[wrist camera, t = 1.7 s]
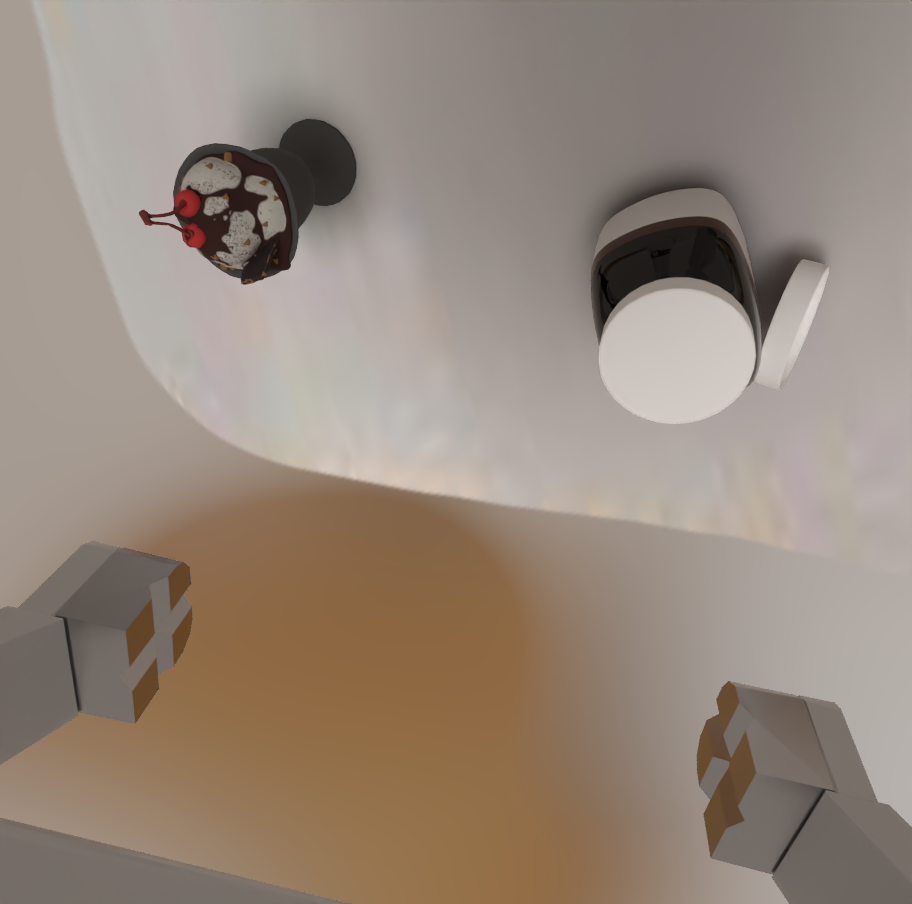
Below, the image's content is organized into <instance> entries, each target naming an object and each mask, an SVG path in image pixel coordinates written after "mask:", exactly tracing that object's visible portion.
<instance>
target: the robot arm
mask: <svg viewBox="0 0 912 904" xmlns="http://www.w3.org/2000/svg"><path fill="white" fill-rule="evenodd" d="M190 585H191V577H190V567H189V566H188V565H187V564H186V563H184V562H180V561H176V560H172V559H168V558H164V557H160V556H156V555H152V554H148V553H144V552H139V551H135V550H131V549H127V548H120V547H116V546H112V545H108V544H104V543H100V542H96V541H91V542H88V543H85V544H83V545H82V546H81V547H80V548H79V549H78V550H77V551H76V552H75V553H74V554H73V555H71V557H69V558H68V559H67V561H66V562H64V563H63V564H62V565H61V566H60V567H59V568H58V569H57V570H56V571H55V572H54V573H53V574H52V575H51V576H50V577H49V578H48V579H47V580H46V581H45V582H44V583H43V584H42V585H41V586H40V587H39V588H38V589H37V590H36V591H35V592H34V593H33V594H32V595H31V596H30V597H29V598H28V599H27V600H26V601H25V602H24V603H22V604H21V605H20V606H19V607H18V608H14V607H9V606H7V607H4V608H2V609H0V764H2V763H4V762H5V761H7V760H8V759H10V758H12V757H13V756H15V755H16V754H18V753H20V752H21V751H23V750H24V749H26V748H28V747H29V746H31V745H32V744H34V743H35V742H37V741H39V740H40V739H42V738H43V737H45V736H47V735H48V734H50V733H52V732H53V731H55V730H56V729H58V728H59V727H61V726H63V725H64V724H66V723H67V722H69V721H71V720H72V719H74V718H75V717H77V716H78V712H80V713H85V714H90V715H94V716H99V717H105V718H109V719H114V720H120V721H124V722H129V723H134V724H135V723H136V722H137V721H138V719H139V718H140V716H141V715H142V713H143V712H144V710H145V709H146V707H147V706H148V704H149V703H150V701H151V700H152V698H153V697H154V695H155V693H156V692H157V691H158V689H159V684H158V674H160V673H162V672H164V671H166V670H168V669H169V668H172V667H173V666H174V665H175V664H176V662H177V661H178V659H179V657H180V656H181V654H182V653H183V651H184V648H185V645H186V643H187V640H188V638H189V635H190V631H191V625H192V605H191V604H190V603H189V602H188V600H187V599H186V597H185V596H184V595H183V594H184V593H185V591H186V590H187V589H188V587H189V586H190ZM716 700H717V705H718V710H719V714H718V715H716V716H714V717H712V718H710V719H708V720H707V721H706V723H705V726H704V729H703V731H702V733H701V736H700V740H699V746H698V752H697V774H698V780H699V786H700V788H701V789H702V790H703V791H704V793H705V794H706V795H707V796H708V798H709V799H710V802H709V804H708V806H707V808H706V810H705V812H704V820H705V826H706V832H707V838H708V844H709V851H710V857H711V858H712V859H716V860H720V861H724V862H727V863H731V864H735V865H739V866H743V867H747V868H750V869H754V870H758V871H762V872H765V873H769V874H773V876H772V878H773V880H774V881H775V883H776V884H777V886H778V887H779V889H780V890H781V892H782V893H783V895H784V896H785V898H786V899H787V901H788V902H789V904H912V827H911V826H910V825H909V824H908V823H907V822H906V821H905V820H904V819H903V818H902V817H901V816H900V815H899V814H898V813H897V812H896V811H895V810H894V809H893V808H892V807H891V806H889V805H887V804H883V803H878V801H877V799H876V796H875V794H874V791H873V789H872V786H871V784H870V781H869V779H868V776H867V774H866V771H865V769H864V766H863V764H862V761H861V759H860V756H859V754H858V751H857V748H856V746H855V744H854V741H853V739H852V736H851V734H850V731H849V728H848V726H847V724H846V721H845V718H844V716H843V713H842V711H841V709H840V708H839V707H838V706H837V705H836V704H835V703H834V702H829V701H824V700H819V699H814V698H809V697H804V696H796V695H793V694H788V693H783V692H778V691H773V690H769V689H763V688H759V687H754V686H750V685H745V684H740V683H735V682H731V681H728V682H727V683H726V684H725V685H724V686H723V687H722V689H721V691H720V693H719V695H718V697H717V699H716ZM0 904H350V903H346V902H342V901H338V900H334V899H330V898H326V897H321V896H317V895H314V894H310V893H305V892H301V891H297V890H293V889H289V888H285V887H281V886H277V885H273V884H269V883H265V882H261V881H257V880H252V879H249V878H244V877H240V876H236V875H232V874H228V873H224V872H219V871H216V870H212V869H207V868H204V867H199V866H195V865H191V864H187V863H183V862H179V861H175V860H170V859H166V858H163V857H159V856H155V855H150V854H146V853H142V852H138V851H134V850H130V849H125V848H122V847H118V846H114V845H110V844H106V843H101V842H97V841H93V840H89V839H85V838H81V837H76V836H73V835H68V834H64V833H61V832H56V831H52V830H48V829H44V828H40V827H36V826H32V825H27V824H24V823H20V822H15V821H11V820H7V819H3V818H0Z"/></svg>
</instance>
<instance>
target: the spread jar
mask: <svg viewBox="0 0 912 904" xmlns="http://www.w3.org/2000/svg"><path fill="white" fill-rule="evenodd" d="M829 270H830V266H829V265H826V264H822V263H818V262H814V261H810V260H806V259H803V260H801V261H800V262H799V264H798V265H797V267H796V268H795V270H794V272H793V274H792V276H791V278H790V280H789V282H788V284H787V286H786V288H785V290H784V292H783V295H782V297H781V299H780V301H779V304H778V306H777V309H776V311H775V314H774V316H773V319H772V321H771V324H770V326H769V329H768V332H767V335H766V337H765V340H764V343H763V346H762V336H761V319H760V311H759V304H758V298H757V292H756V287H755V282H754V277H753V271H752V265H751V261H750V256H749V252H748V248H747V244H746V241H745V238H744V235H743V232H742V229H741V227H740V224H739V222H738V219H737V217H736V214H735V212H734V210H733V208H732V207H731V205H730V204H729V202H728V201H727V199H726V198H725V197H724V196H723V195H721V194H720V193H718V192H716V191H714V190H710V189H705V188H690V189H680V190H674V191H669V192H665V193H661V194H658V195H655V196H652V197H649V198H646V199H644V200H641V201H639V202H637V203H635V204H633V205H631V206H629V207H627V208H625V209H624V210H622V211H620V212H618V213H617V214H616V215H614V216H613V217H612V218H611V219H610V220H609V221H608V222H607V223H606V224H605V226H604V227H603V229H602V231H601V233H600V235H599V238H598V242H597V245H596V248H595V253H594V257H593V262H592V271H591V295H592V308H593V316H594V323H595V329H596V334H597V338H598V343H599V350H598V365H599V370H600V375H601V378H602V380H603V382H604V385H605V387H606V389H607V390H608V391H609V393H610V394H611V396H612V397H613V398H614V399H615V400H616V401H617V402H618V403H619V404H620V405H621V406H622V407H623V408H625V409H626V410H628V411H630V412H631V413H633V414H634V415H636V416H639V417H641V418H644V419H646V420H649V421H654V422H658V423H666V424H682V423H691V422H695V421H699V420H703V419H706V418H708V417H710V416H712V415H715V414H717V413H719V412H720V411H722V410H723V409H725V408H726V407H728V406H729V405H731V404H732V403H733V402H734V401H735V400H736V399H737V398H738V397H739V396H740V395H741V393H742V392H743V390H744V389H745V388H746V387H747V386H749V385H750V384H751V383H752V381H753V380H754V382H755V383H756V384H759V385H762V386H765V387H768V388H772V389H775V390H778V391H780V390H781V389H782V387H783V386H784V384H785V382H786V380H787V379H788V377H789V375H790V373H791V370H792V368H793V366H794V364H795V362H796V360H797V357H798V355H799V353H800V350H801V348H802V346H803V343H804V341H805V339H806V336H807V334H808V331H809V329H810V326H811V324H812V321H813V319H814V316H815V313H816V311H817V308H818V305H819V303H820V300H821V297H822V294H823V291H824V288H825V285H826V282H827V278H828V275H829Z"/></svg>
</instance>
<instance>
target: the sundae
mask: <svg viewBox="0 0 912 904" xmlns="http://www.w3.org/2000/svg"><path fill="white" fill-rule="evenodd" d="M355 178H356V164H355V158H354V155H353V152H352V150H351V147H350V145H349V143H348V142H347V141H346V139H345V138H344V137H343V135H342V134H341V133H340V132H339V131H338V130H337V129H335V128H334V127H332V126H331V125H329V124H327V123H325V122H323V121H319V120H311V119H306V120H303V121H299V122H297V123H295V124H293V125H292V126H291V127H290V128H289V129H288V130H287V131H286V132H285V133H284V135H283V137H282V139H281V142H280V146H279V149H277V148H261V149H257V150H252V151H250V150H247V149H244V148H242V147H239V146H233V145H228V144H217V143H214V144H209V145H204V146H202V147H199V148H197V149H195V150H194V151H193V152H192V153H190V155H189V156H188V157H187V158H186V159H185V161H184V162H183V164H182V166H181V167H180V169H179V172H178V175H177V178H176V181H175V186H174V191H173V196H174V209H173V211H171V212H169V213H164V214H158V215H150V214H148V212H146V211H145V210H141V211H140V212H139V215H140V216H141V218H142V220H143V222H144V223H145V225H149V226H151V225H152V224H156V225H169V226H171V227H173V228H175V229H177V230H179V231H180V232H182V237H183V241H184V242H185V243H186V244H187V245H188V246H189V247H194V248H196V249H197V250H198V252H199V253H200V254H201V255H202V256H204V257H205V258H207V259H208V260H209V261H210V262H211V263H212V264H213V265H215V266H216V267H217V268H219V269H220V270H221V271H223V272H225V273H227V274H228V275H230V276H233V277H237V278H241V283H242V284H243V285H244V284H251V283H254V282H256V281H258V280H263V279H264V278H267V277H270V276H273V275H275V274H277V273H279V272H280V271H282V270H288V269H289V268H290V266H291V264H290V263H291V261H292V259H293V258H294V256H295V252H296V249H297V243H298V237H299V236H298V229H299V227H300V226H301V225H302V224H303V223H304V221H305V220H306V218H307V217H308V215H309V213H310V211H311V210H312V208H313V205H314V204H315V205H321V206H328V205H333V204H336V203H338V202H340V201H341V200H343V199H344V198H345V197H346V196H347V195H348V194H349V193H350V191H351V189H352V187H353V184H354V181H355ZM173 214H175V216H176V217H177V219H178V221H179V223H180V225H181V226H182V228H183V229H182V228H180V227H177V226H175V225H173V224H170V223H163V222H154V221H151V220H150V218H155V217H166V216H170V215H173Z"/></svg>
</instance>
